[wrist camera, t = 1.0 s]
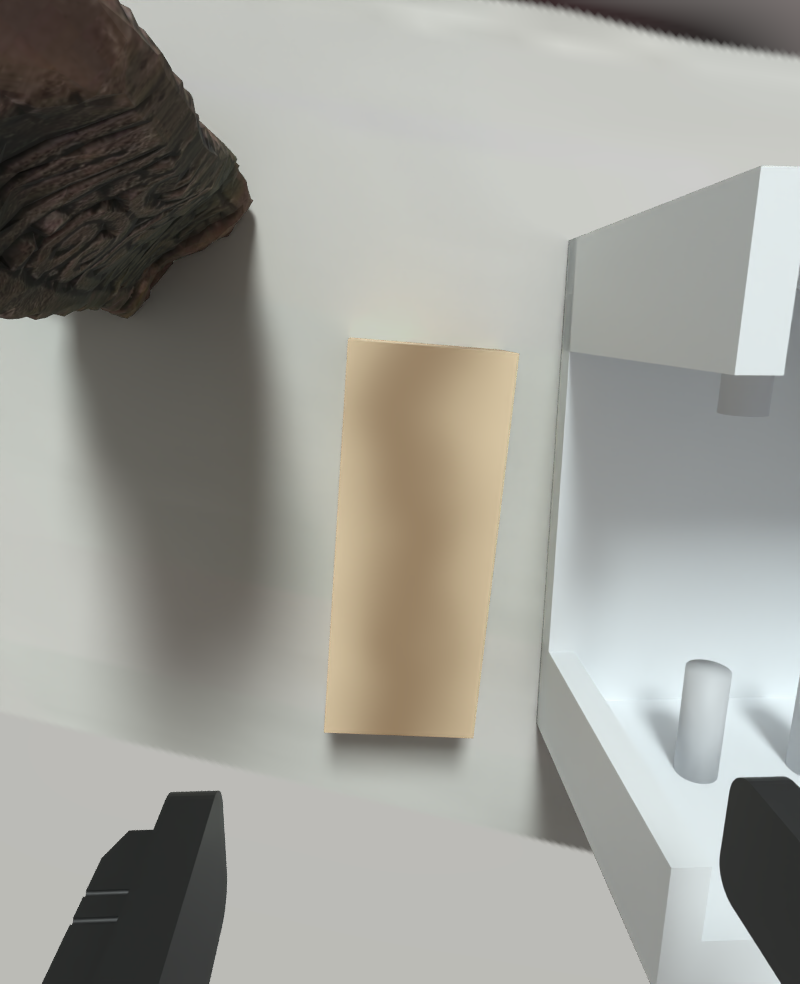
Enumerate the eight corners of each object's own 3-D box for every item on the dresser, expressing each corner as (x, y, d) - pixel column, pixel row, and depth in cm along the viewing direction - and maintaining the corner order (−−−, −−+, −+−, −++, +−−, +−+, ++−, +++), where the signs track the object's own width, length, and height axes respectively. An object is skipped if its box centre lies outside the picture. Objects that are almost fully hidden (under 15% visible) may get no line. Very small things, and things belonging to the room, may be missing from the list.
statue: (114, 58, 22) (-1668, -1838, 3) (295, 205, 23) (-23, -347, 4) (4, 235, 23) (-1833, -204, 4) (182, 366, 24) (-494, 535, 5)
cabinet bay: (894, 246, 25) (1363, 180, 13) (811, 717, 29) (1104, 974, 18) (569, 240, 24) (761, 165, 13) (536, 723, 29) (655, 994, 17)
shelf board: (498, 349, 25) (519, 353, 22) (459, 689, 29) (473, 738, 25) (349, 337, 25) (347, 339, 22) (328, 683, 28) (323, 732, 25)
